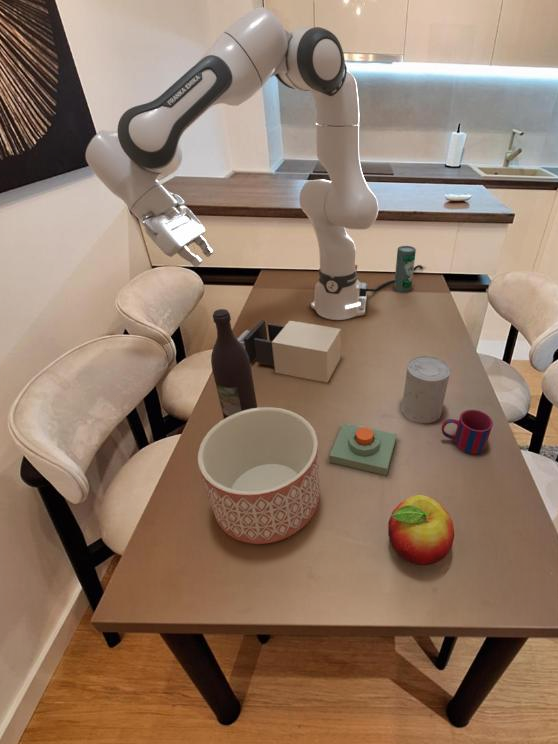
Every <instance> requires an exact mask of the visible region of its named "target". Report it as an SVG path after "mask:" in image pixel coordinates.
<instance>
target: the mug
mask: <svg viewBox="0 0 558 744" xmlns="http://www.w3.org/2000/svg"><path fill="white" fill-rule="evenodd" d="M448 424H454V425H456V426H457V427H456V430H455V434H449V433H448V432H447V431H445V428H446V426H447V425H448ZM493 425H494V422H493V419H492V418H491V417H490V415H488V414H487V413H485V412H483V411H481V410H477V409H467V410H464V411H463V412H461V413H460V415H459V419H454V418H448V419H446V420H444V421H443V423H442V425H441V433H442V435H443V436H445V437H446V438H447V439H450V440H452V441H453V442H454V444H455V446H456V448H457V449H459V451H461V452H463V453H465V454H469V455H478V454H481V453H482V452H484V451H485V448H486V446H487V444H488V440H489V437H490V435H491V432H492V429H493Z"/></svg>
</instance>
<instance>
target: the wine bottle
mask: <svg viewBox="0 0 558 744" xmlns="http://www.w3.org/2000/svg"><path fill="white" fill-rule="evenodd" d="M212 319H213V323H214V324H215V328H216V340H215V343H214V346H213V348H212V351H211V356H210V364H211V365H210V366H211V370H212V374H213V379H214V383H215V388H216V392H217V395H218V401H219V404H220V409H221V414H222V418H223V420H224V419H225V418H227V417H229V416H231V415H233V414H235V413H238V412H241V411H244V410H248V409H253V408H258V402H257V396H256V391H255V384H254V383H255V382H254V378H253V372H252V364H250V360H249V356H248V354H247V351H246V349H245V346H244V345H242V344H241V343H240V342H239V341H238V340H237V339H238V338H237V337H236V336H235V334H234V332H233V329H232V323H231V320H232V318H231V313H230V312H229V310H228V309H224V308H220V309H216V310H214V311H213V314H212Z"/></svg>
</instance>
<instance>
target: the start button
mask: <svg viewBox="0 0 558 744" xmlns="http://www.w3.org/2000/svg"><path fill="white" fill-rule="evenodd" d="M362 427H363V428H359V429H358V430H357V431H356V442H357V443H358V444H359V445H362V446H367V445H370V444H371V443H372V442H373V431H372V430H371V429H369V428H370V427H367V428H366V426H362Z"/></svg>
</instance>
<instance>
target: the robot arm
mask: <svg viewBox="0 0 558 744" xmlns="http://www.w3.org/2000/svg"><path fill="white" fill-rule="evenodd" d="M272 77H275V78H276V79H277V80H278V81H279V82H280V83H281V84H282V85H284V86H285V87H287V88H289V89H293V90H298V91H303V92H310V93H311V95H312V98H313V101H314V106H315V139H316V157H317V160H318V162H319V163H320V165H321V166H322V167H323V168H324V169H325V171H326V172H327V174H328V177H329V180H328V179H311V180H308V181H306V182H305V183H304V184H303V185H302V187H301V189H300V192H299V206H300V208H301V210H302V212H303V213H304V214H305V215H306V216H307V218H308V220H309V222H310V224H311V226H312V229H313V230H314V233H315V236H316V240H317V245H318V252H319V253H318V254H319V269H318V273H317V276H318V282H317V283H316V284H315V285H314V301H312V302H311V303H310V308H311V309H313V310H314V311H315V312H316V313H317V315H318V316H320V317H322V318H324V319H327V320H332V321H343V320H344V321H345V320H350V319H351V318H355V317H360V316H365V314H366V307H367V299H368V298H367V297H368V296H367V292H378V290H380V289H382V288H385V286H388V285H390V284H394V282H395V279H393V280H388V281H386V282H383V283H382V284H380V285H378V286H377V287H375V288H370V287H369V288H368V282H361V281H360V280H359V279H358V273H357V271H358V264H356V255H357V254H356V253H357V252H356V251H357V247H356V244H355V241H354V240H353V239H352V238H351V236H350V235H349V233H348V231H347V229H349V230H357V231H358V230H369V228H371V227H372V226H373V225H374V223H376V220H377V218H378V216H379V215H378V214H379V202H378V198H377V196H376V195H375V194H374V192H373V191H372V190H371V189H370V186H368V184H367V181H366V179H365V177H364V174H363V170H362V166H361V160H360V104H359V92H358V84H357V80H356V78H355V76H354V75H353V74H352V73H351V72H350V71H349V70H348V69H347V65H346V60H345V54H344V50H343V47H342V44H341V42H340V40H339V39H338V37H337V36H336V35H335V34H334V33H333V32H332V31H330V30H329V29H326V28H324V27H320V26H314V27H307V26H306V27H299V28H298V27H297V28H296V29H293V30H286V28H285V27H284V25H283V23H282V21H281V20H280V18H279V17H278V16H277V15H276V14H275V12H273V11H272V10H270V9H269V8H267V7H263V6H260V7H256V8H254V9H252V10H250V11H249V12H246V13H245V14H243V16H241V17H239V18H238V19H237V20H236V21H234V22H233V23H232V24H230V26H229V27H227V28H226V30H224V31H223V33H222V34H221V35H219V37H218V38H217V39H216V40H215V41H214V42H213V43H212V44H211V46H210V47H209V48H208V49H207V50H206V51H205V53H204V54H203V55H202V56H201V57H200V58H199V60H198V61H197V62H196V63H195V64H194V65H193V66H192V67H191V68H190V69H188V70H187V71H186V72H185V73H184V74H183V75H182V76H181V77H179V79H177V80H176V81H175V82H174V83H173V84H171V85H170V87H168V88H167V89H166V90H165V91H164V92H163V93H161V95H159V96H158V97H157V98H155V99H153V100H152V101H151V100H150V101H149V102H146V103H143V104H139V105H135V106H132V107H130V108H128V109H127V110H126V111H125V112H124V113H123V114H122V115H121V116H120V118H119V120H118V123H117V130H112V131H111V130H110V131H109V130H100V131H98V132H97V133H96V134H94V135H93V136H92V137H91V139H90V140H89V142H88V144H87V146H86V150H85V161H86V163H87V165H88V167H89V168H90V169H91V171H92V172H93V173H94V175H95V176H96V177H97V178H98V179H99V181H100V182H102V184H103V185H104V186H105V187H106V188H107V189H108V190H109V191H110V192H111V193H112V194H113V195H114V196H115V197H117V198H119V199H120V200H122V202H124V203H125V206H126V207H127V208H128V210H129V211H130V212H131V214H133V215H134V216H135V217H136V218H137V219H138V220H139V221H140V222H141V224H142V226H144V231H145V233H146V235H148V237H149V239H150V240H151V241H152V243H154V244H155V245H156V246H157V248H158V249H160V251H161V252H162V253H163V254H164V255H166V256H168V257H170V258H172V257H174V256H175V255H177V254H178V256H179V257H180V258H182V259H184V260H185V261H187V262H189V263H190V264H191V265H192V266H193V267H195V268H198V267H199V266H200V265H201V264H202V263H203V260H202V259H201V258H200V256H198V255H195V254H194V253H193V252H192V251H190V248H189V247H188V246H190V245H192V244H193V243H194V244H195V245H196V246H198V247H199V248H200V250H201V251H202V253H203V255H204V256H206V257H207V258H209V257H210V256H211V255H213V254H214V250H213V249H212V248H211V247H210V246H209V243H208V242H207V240H206V238H205V237H204V236H203V235H204V234H205V233H206V229H205V227H204V225H203V223H202V222H201V221H200V220H199V219H198V218H197V216H196V215H195V213H193V211H192V210H191V209H190V208H189V207H187V206H186V205H185V200H184V199H183V198H182V197H181V196H180V195H178V194H175V193H173V192H171V191H169V190H168V189H166V188H165V187H164V185H163V184H161V182H160V181H161V180H163V179H165V178H167V177H168V176H170V175H172V174H174V173H175V172H176V171H177V170H178V169H179V167H180V166H181V164H182V161H183V160H182V159H183V152H182V148H181V144H180V140H181V137H182V136H183V134H184V132H186V131H187V130H188V129H189V128H190V127H191V126H192V125H193V124H194V123H195V122H196V121H197V120H198V119H199V118H200V117H202V116H203V115H204V114H205V113H206V112H207V111H208V110H209V109H211V108H213V107H214V106H216V105H219V104H225V105H227V106H233V107H237V106H240V105H241V104H243V103H245V102H246V101H248V100H249V99H251V98H252V97H253V96H254V95H255V94H257V92H258V91H260V90H261V89H262V87H264V85H265V84H266V83H267V82H268V81H269V79H270V78H272ZM423 268H424V267H423V265H422V264H417V265H416V266H414V269H413V272H414V271H416V270H417V269H421V270H422V269H423Z"/></svg>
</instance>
